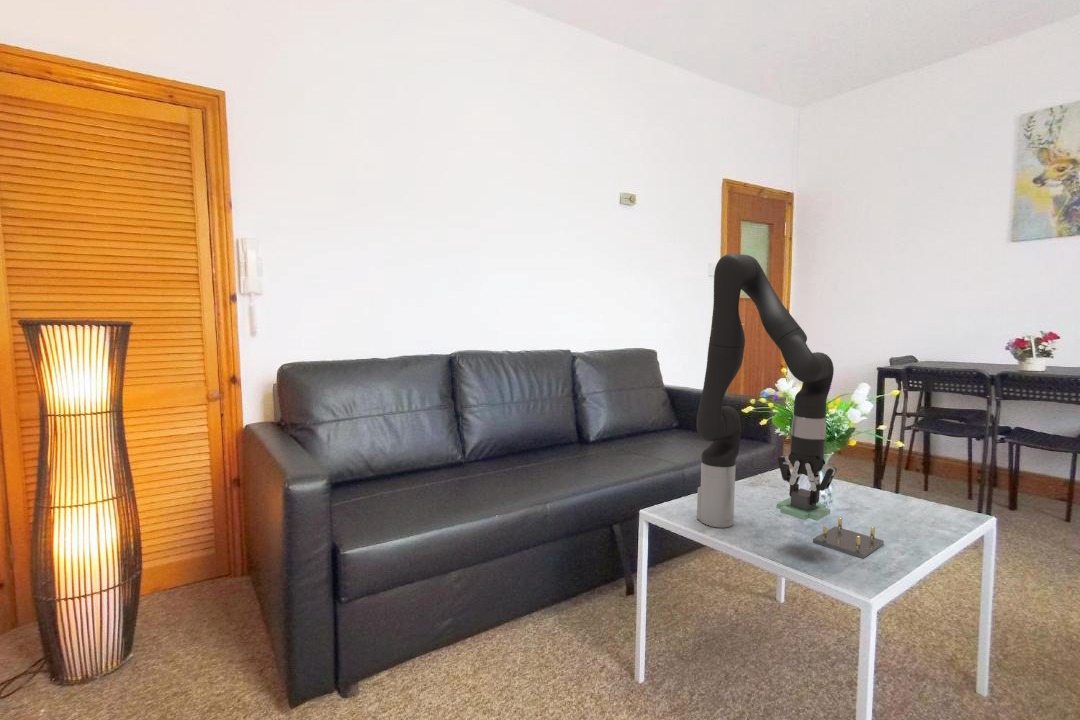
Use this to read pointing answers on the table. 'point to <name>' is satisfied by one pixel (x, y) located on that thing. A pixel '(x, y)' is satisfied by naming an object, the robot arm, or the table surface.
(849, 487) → the table surface
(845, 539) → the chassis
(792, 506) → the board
